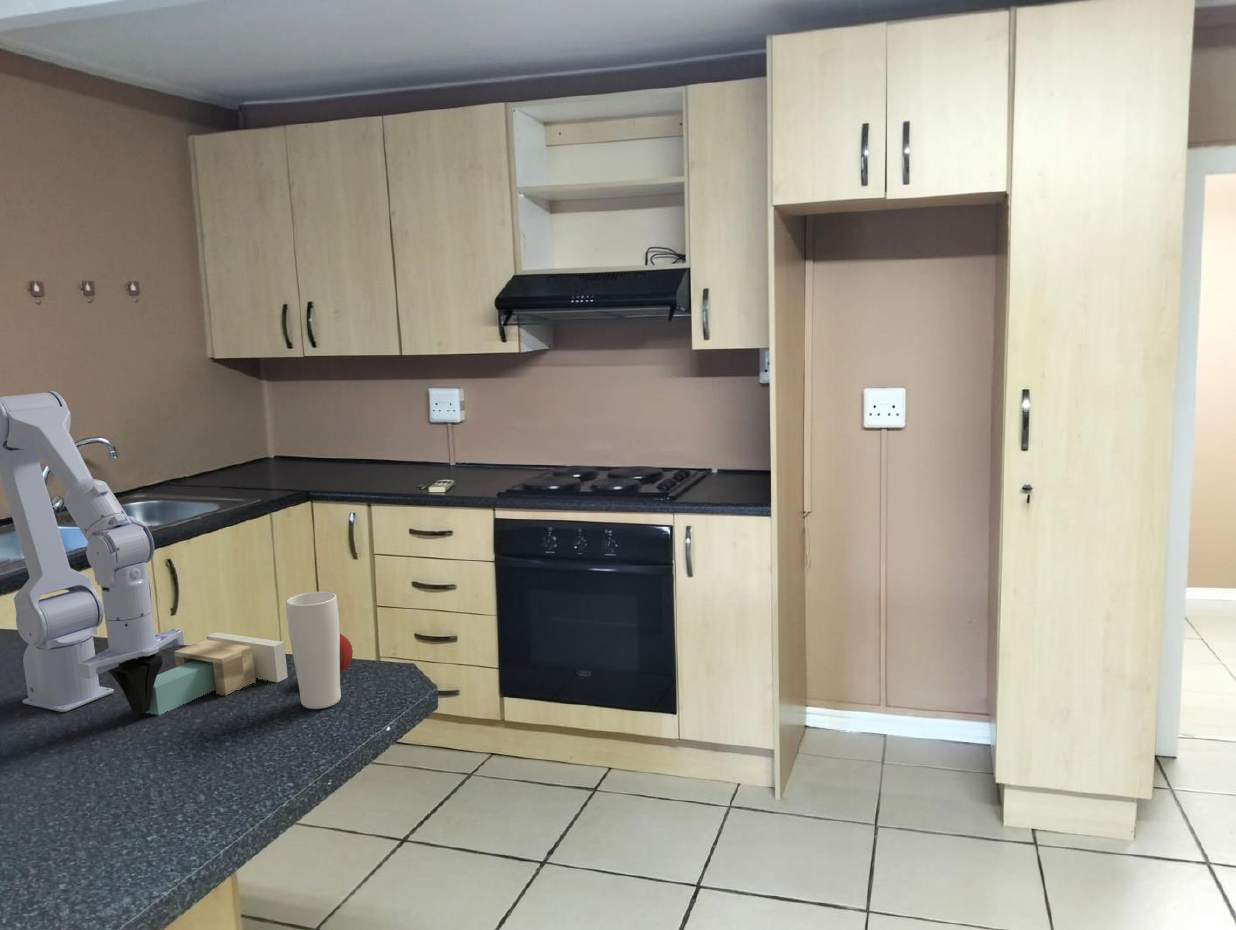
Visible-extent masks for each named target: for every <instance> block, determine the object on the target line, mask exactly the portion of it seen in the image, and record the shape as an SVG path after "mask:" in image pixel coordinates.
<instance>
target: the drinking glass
mask: <svg viewBox="0 0 1236 930" xmlns="http://www.w3.org/2000/svg"><path fill="white" fill-rule="evenodd" d="M337 597H338V596H337V594H336V593H334V592H330V591H329V592H328V591H309V592H305V593H301V594H297V595H294V596H291V597H290V598H288V599H286V602H285V608H286V609H285V611H286V622H287V623H286V626H287V631H288V637H289V641H290V648H291V653H292V659H293V663H294V668H295V673H296V678H297V683H298V690H299V697H300V699H299V700H300V703H301V705H302V706H303V707H304V708H306V709H310V710H320V709H321V710H322V709H326V708H329V707H333V706H335V705H336V704H337V703H339V702H340V700H341V697H342V693H341V674H340V634H341V631H340V629H341V627H340V613H339V605H338V599H337Z"/></svg>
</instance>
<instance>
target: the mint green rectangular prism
mask: <svg viewBox="0 0 1236 930" xmlns="http://www.w3.org/2000/svg"><path fill="white" fill-rule="evenodd" d="M213 690H215V691H216V684H215V676H214V667H213V662H208V661H202V660H193V661H191V662H188V663H186V664H183V665H181V666H178V667H176V666H175V667H174V668H171V669H169V670H165V671H164V672H161V673H158V674H157V677H156V680H155V683H154V687H153V691H152V697H151V703H150V710H149V711H147V712H145V714H149V713H150V714H151V715H154V714H155V715H154V716H161V715H163V714H165V712H166V713H168V712H170V711H172V710H174V709H177V708H180V707H181V706H184V705H186V704H188V703H190V702H192V700H193V701H194V699H195V700H197V699H198V697H199V698H201V696H202V697H203V695H204V696H206V695H208V694H210V693H212V692H211V691H213ZM209 692H210V693H209ZM213 692H214V691H213ZM207 693H208V694H207ZM205 694H206V695H205ZM196 698H197V699H196ZM183 704H184V705H183ZM167 711H168V712H167Z"/></svg>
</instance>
